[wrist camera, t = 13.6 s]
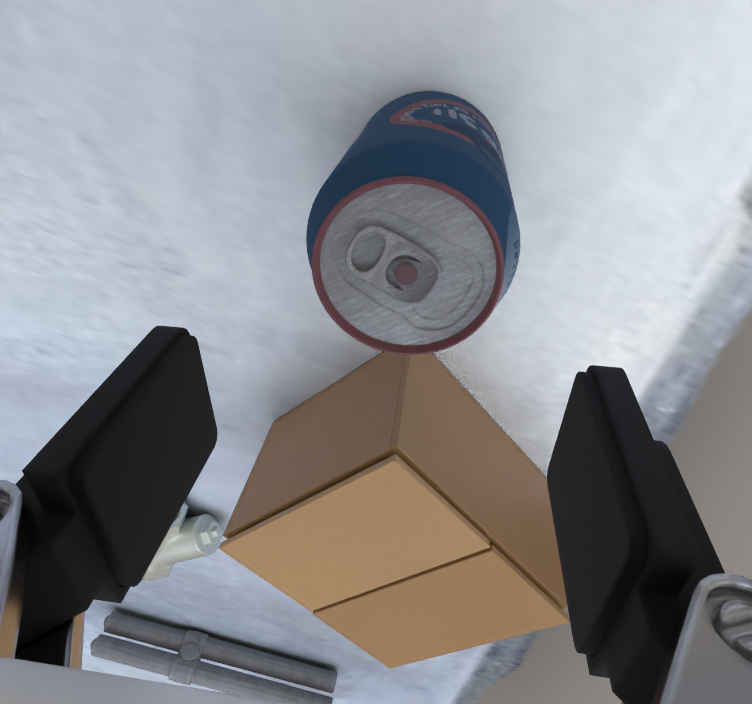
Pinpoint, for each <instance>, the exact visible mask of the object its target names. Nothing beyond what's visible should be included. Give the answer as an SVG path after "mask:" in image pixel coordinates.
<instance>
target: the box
mask: <svg viewBox="0 0 752 704" xmlns="http://www.w3.org/2000/svg"><path fill="white" fill-rule="evenodd" d="M395 454H396V455H398V456H399V457H400V458H401V459H402V460H403V461H404V462H405V463H406V464H407V465H408V466H409V467H411V468H412V469H413V470H414V471H415V472H416V473H417V474H418V475H419V476H420V477H421V478H422V479H423V480H425V481H426V482H427V483H428V484H429V485H430V486H431V487H432V488H433V489H434V490H435V491H436V492H438V493H439V494H440V495H441V496H442V497H443V498H444V499H445V500H446V501H447V502H448V503H449V504H451V505H452V506H453V507H454V508H455V509H456V510H457V511H458V512H459V513H460V514H461V515H462V516H464V517H465V518H466V519H467V520H468V521H469V522H470V523H471V524H472V525H473V526H474V527H475V528H476V529H478V530H479V531H480V532H481V533H482V534H483V535H484V536H485V537H486V538H487V539H488V540H489V541H490V548H487V549H484V550H481V551H479V552H476V553H473V554H470V555H467V556H465V557H462V558H459V559H456V560H453V561H451V562H448V563H445V564H442V565H439V566H437V567H434V568H431V569H428V570H425V571H423V572H420V573H417V574H414V575H412V576H409V577H406V578H403V579H400V580H398V581H395V582H392V583H389V584H386V585H384V586H381V587H378V588H375V589H372V590H370V591H367V592H364V593H361V594H358V595H356V596H353V597H350V598H347V599H344V600H342V601H339V602H336V603H333V604H330V605H328V606H325V607H322V608H319V609H316V610H314V611H313V615H315V616H316V617H317V618H319V619H320V620H322V621H323V622H325V623H326V624H327V625H329V626H330V627H332V628H333V629H334V630H336V631H337V632H339V633H340V634H342V635H343V636H344V637H346V638H347V639H349V640H350V641H352V642H353V643H354V644H356V645H357V646H359V647H360V648H362V649H363V650H364V651H366V652H367V653H369V654H370V655H372V656H373V657H374V658H376V659H377V660H379V661H380V662H382V663H383V664H384V665H386V666H387V667H389V668H393V667H397V666H401V665H405V664H409V663H413V662H417V661H421V660H425V659H428V658H432V657H436V656H440V655H444V654H448V653H452V652H456V651H460V650H464V649H467V648H471V647H475V646H479V645H483V644H487V643H491V642H495V641H499V640H503V639H506V638H510V637H514V636H518V635H522V634H526V633H530V632H534V631H538V630H541V629H545V628H549V627H553V626H557V625H561V624H564V623H569V618H568V615H567V614H566V613H565V612H564V611H563V610H564V609H568V605H567V599H566V593H565V587H564V582H563V576H562V570H561V564H560V558H559V552H558V546H557V540H556V534H555V528H554V522H553V516H552V510H551V504H550V498H549V492H548V486H547V478H546V477H545V476H544V474H543V473H542V472H541V471H540V470H539V469H538V468H537V467H536V466H535V465H534V464H533V462H532V461H531V460H530V459H529V458H528V457H527V456H526V455H525V454H524V453H523V452H522V450H521V449H520V448H519V447H518V446H517V445H516V444H515V443H514V442H513V441H512V440H511V438H510V437H509V436H508V435H507V434H506V433H505V432H504V431H503V430H502V429H501V428H500V426H499V425H498V424H497V423H496V422H495V421H494V420H493V419H492V418H491V417H490V416H489V414H488V413H487V412H486V411H485V410H484V409H483V408H482V407H481V406H480V405H479V404H478V402H477V401H476V400H475V399H474V398H473V397H472V396H471V395H470V394H469V393H468V392H467V390H466V389H465V388H464V387H463V386H462V385H461V384H460V383H459V382H458V381H457V380H456V378H455V377H454V376H453V375H452V374H451V373H450V372H449V371H448V370H447V369H446V368H445V366H444V365H443V364H442V363H441V362H440V361H439V360H438V359H437V358H436V357H435V356H434V354H433V353H427V354H418V355H404V354H395V353H389V352H385V351H384V352H382V353H381V354H379V355H378V356H376V357H374V358H373V359H371V360H370V361H368V362H367V363H365V364H363V365H362V366H360V367H359V368H357V369H356V370H354V371H353V372H351V373H349V374H348V375H346V376H345V377H343V378H342V379H340V380H338V381H337V382H335V383H334V384H332V385H331V386H329V387H327V388H326V389H324V390H323V391H321V392H320V393H318V394H316V395H315V396H313V397H312V398H310V399H309V400H307V401H305V402H304V403H302V404H301V405H299V406H298V407H296V408H294V409H293V410H291V411H290V412H288V413H287V414H285V415H283V416H282V417H280V418H279V419H277V420H276V421H274V422H273V423H272V426H271V428H270V430H269V432H268V435H267V437H266V439H265V441H264V444H263V446H262V448H261V450H260V453H259V455H258V457H257V459H256V462H255V464H254V466H253V468H252V471H251V473H250V475H249V477H248V480H247V482H246V484H245V486H244V489H243V491H242V493H241V495H240V498H239V500H238V502H237V504H236V507H235V509H234V511H233V513H232V516H231V518H230V520H229V522H228V525H227V527H226V529H225V531H224V534H223V536H224V537H226V538H227V539H229V538H231V537H233V536H235V535H237V534H239V533H241V532H243V531H245V530H247V529H249V528H251V527H253V526H255V525H257V524H259V523H261V522H263V521H265V520H267V519H269V518H271V517H273V516H275V515H277V514H278V513H280V512H282V511H284V510H286V509H288V508H290V507H292V506H294V505H296V504H298V503H300V502H302V501H304V500H306V499H308V498H310V497H312V496H314V495H316V494H318V493H320V492H322V491H324V490H326V489H328V488H330V487H332V486H334V485H336V484H338V483H340V482H342V481H344V480H346V479H347V478H349V477H351V476H353V475H355V474H357V473H359V472H361V471H363V470H365V469H367V468H369V467H371V466H373V465H375V464H377V463H379V462H381V461H383V460H385V459H387V458H389V457H391V456H393V455H395Z"/></svg>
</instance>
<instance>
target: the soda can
mask: <svg viewBox="0 0 752 704" xmlns="http://www.w3.org/2000/svg"><path fill="white" fill-rule="evenodd" d="M307 253H308V258H309V262H310V266H311V269H312V275H313V281H314V285H315V288H316V291H317V294H318V296H319V299H320V301H321V303H322V305H323V306H324V308H325V310H326V311H327V313H328V314H329V315H330V317H331V318H332V319H333V320H334V321H335V322H336V324H337V325H338V326H339V327H341V328H342V329H343V330H344V331H345V332H346V333H348V334H349V335H350V336H352V337H353V338H355V339H356V340H358V341H360V342H362V343H364V344H366V345H368V346H370V347H373V348H375V349H378V350H381V351H385V352H389V353H395V354H404V355H418V354H427V353H432V352H437V351H440V350H443V349H446V348H449V347H451V346H453V345H455V344H457V343H459V342H461V341H463V340H464V339H466V338H467V337H469V336H470V335H471V334H473V333H474V332H475V331H476V330H477V329H478V328H479V327H481V325H482V324H483V323H484V322H485V321H486V320H487V318H488V317H489V316H490V314H491V313H492V311H493V309H494V307H495V306H496V305H497V304H498V303H499V302H500V300H501V299H502V298H503V296H504V295H505V293H506V292H507V290H508V288H509V286H510V284H511V282H512V280H513V277H514V275H515V272H516V269H517V265H518V260H519V254H520V231H519V225H518V220H517V215H516V211H515V207H514V202H513V198H512V194H511V189H510V185H509V181H508V176H507V172H506V168H505V163H504V159H503V154H502V150H501V146H500V143H499V140H498V137H497V135H496V133H495V131H494V129H493V127H492V126H491V124H490V123H489V121H488V120H487V119H486V117H485V116H484V115H483V114H482V113H481V112H480V111H479V110H478V109H477V108H475V107H474V106H473V105H471V104H470V103H468V102H467V101H465V100H463V99H461V98H459V97H457V96H454V95H451V94H448V93H443V92H436V91H423V92H415V93H411V94H407V95H404V96H402V97H399V98H397V99H395V100H393V101H391V102H390V103H388V104H387V105H385V106H384V107H383V108H381V109H380V110H379V111H378V112H377V113H376V114H375V115H374V116H373V117H372V118H371V119H370V121H369V122H368V123H367V125H366V126H365V127H364V129H363V130H362V132H361V133H360V134H359V136H358V137H357V139H356V140H355V141H354V143H353V144H352V145H351V147H350V148H349V150H348V151H347V152H346V154H345V155H344V157H343V158H342V159H341V161H340V162H339V164H338V165H337V166H336V168H335V169H334V171H333V172H332V173H331V175H330V176H329V177H328V179H327V180H326V182H325V183H324V185H323V186H322V188H321V189H320V191H319V193H318V194H317V196H316V198H315V201H314V203H313V205H312V208H311V211H310V215H309V219H308V225H307Z"/></svg>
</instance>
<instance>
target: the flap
mask: <svg viewBox="0 0 752 704" xmlns="http://www.w3.org/2000/svg"><path fill="white" fill-rule="evenodd" d="M487 548H490V541H489V540H488V539H487V538H486V537H485V536H484V535H483V534H482V533H481V532H480V531H479V530H478V529H476V528H475V527H474V526H473V525H472V524H471V523H470V522H469V521H468V520H467V519H466V518H465V517H464V516H462V515H461V514H460V513H459V512H458V511H457V510H456V509H455V508H454V507H453V506H452V505H451V504H449V503H448V502H447V501H446V500H445V499H444V498H443V497H442V496H441V495H440V494H439V493H438V492H436V491H435V490H434V489H433V488H432V487H431V486H430V485H429V484H428V483H427V482H426V481H425V480H423V479H422V478H421V477H420V476H419V475H418V474H417V473H416V472H415V471H414V470H413V469H412V468H411V467H409V466H408V465H407V464H406V463H405V462H404V461H403V460H402V459H401V458H400V457H399V456H398V455H396V454H395V455H393V456H391V457H389V458H387V459H385V460H383V461H381V462H379V463H377V464H375V465H373V466H371V467H369V468H367V469H365V470H363V471H361V472H359V473H357V474H355V475H353V476H351V477H349V478H347V479H346V480H344V481H342V482H340V483H338V484H336V485H334V486H332V487H330V488H328V489H326V490H324V491H322V492H320V493H318V494H316V495H314V496H312V497H310V498H308V499H306V500H304V501H302V502H300V503H298V504H296V505H294V506H292V507H290V508H288V509H286V510H284V511H282V512H280V513H278V514H277V515H275V516H273V517H271V518H269V519H267V520H265V521H263V522H261V523H259V524H257V525H255V526H253V527H251V528H249V529H247V530H245V531H243V532H241V533H239V534H237V535H235V536H233V537H231V538H229V539H227V540H225V541H223V542H222V543H221V544H220V547H219V549H220V550H222V551H223V552H225V553H226V554H228V555H229V556H231V557H232V558H234V559H235V560H236V561H238V562H239V563H241V564H242V565H244V566H245V567H247V568H248V569H250V570H251V571H253V572H254V573H255V574H257V575H258V576H260V577H261V578H263V579H264V580H266V581H267V582H269V583H270V584H272V585H273V586H274V587H276V588H277V589H279V590H280V591H282V592H283V593H285V594H286V595H288V596H289V597H290V598H292V599H293V600H295V601H296V602H298V603H299V604H301V605H302V606H304V607H305V608H307V609H308V610H309V611H314V610H316V609H319V608H322V607H325V606H328V605H330V604H333V603H336V602H339V601H342V600H344V599H347V598H350V597H353V596H356V595H358V594H361V593H364V592H367V591H370V590H372V589H375V588H378V587H381V586H384V585H386V584H389V583H392V582H395V581H398V580H400V579H403V578H406V577H409V576H412V575H414V574H417V573H420V572H423V571H425V570H428V569H431V568H434V567H437V566H439V565H442V564H445V563H448V562H451V561H453V560H456V559H459V558H462V557H465V556H467V555H470V554H473V553H476V552H479V551H481V550H484V549H487Z"/></svg>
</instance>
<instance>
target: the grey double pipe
mask: <svg viewBox="0 0 752 704" xmlns="http://www.w3.org/2000/svg"><path fill="white" fill-rule="evenodd" d="M104 632H107V633H111V634H115V635H118V636H122V637H126V638H129V639H133V640H137V641H140V642H144V643H148V644H151V645H155V646H159V647H162V648H166V649H170V650H173V651H177V652H178V654H173V653H169V652H165V651H162V650H158V649H154V648H151V647H147V646H143V645H140V644H136V643H132V642H129V641H125V640H121V639H118V638H114V637H110V636H106V635H103V634H100V635H99V636H98V637H97V638H96V639H94V640H93V641H92V643H91V644H90V645H91V655H92V656H96V657H99V658H103V659H107V660H110V661H114V662H118V663H121V664H125V665H129V666H132V667H136V668H140V669H143V670H147V671H151V672H154V673H158V674H162V675H165V676H169V680H173V681H175V682H178V683H182V684H187V685H190V684H191V683H193V684H196V685H200V686H204V687H207V688H211V689H215V690H218V691H222V692H226V693H229V694H233V695H238V696H244V697H250V698H256V699H262V700H268V701H274V702H280V703H286V704H332V700H333V698H332V697H329V696H325V695H322V694H318V693H314V692H311V691H307V690H303V689H300V688H296V687H293V686H289V685H285V684H282V683H278V682H274V681H271V680H267V679H263V678H260V677H256V676H253V675H249V674H245V673H242V672H238V671H234V670H231V669H227V668H224V667H220V666H216V665H213V664H209V663H205V662H202V661H200V659H201V658H203V659H207V660H211V661H214V662H218V663H222V664H225V665H229V666H233V667H237V668H240V669H244V670H248V671H251V672H255V673H259V674H263V675H266V676H270V677H274V678H277V679H281V680H285V681H289V682H292V683H296V684H300V685H303V686H307V687H311V688H315V689H318V690H322V691H326V692H329V693H333V692H334V688H335V684H336V679H337V672H335V671H331V670H328V669H324V668H320V667H317V666H313V665H309V664H306V663H302V662H298V661H295V660H291V659H287V658H284V657H280V656H276V655H273V654H269V653H265V652H262V651H258V650H254V649H251V648H247V647H244V646H240V645H236V644H233V643H229V642H226V641H222V640H218V639H215V638H211V637H208V634H205V633H203V632H199V631H195V630H190V629H189V630H188V631H183V630H180V629H176V628H172V627H168V626H164V625H161V624H157V623H153V622H150V621H146V620H142V619H139V618H135V617H132V616H128V615H124V614H121V613H117V612H112V613H111V614H110V615H108V616H107V617H106V618H105V621H104Z"/></svg>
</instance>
